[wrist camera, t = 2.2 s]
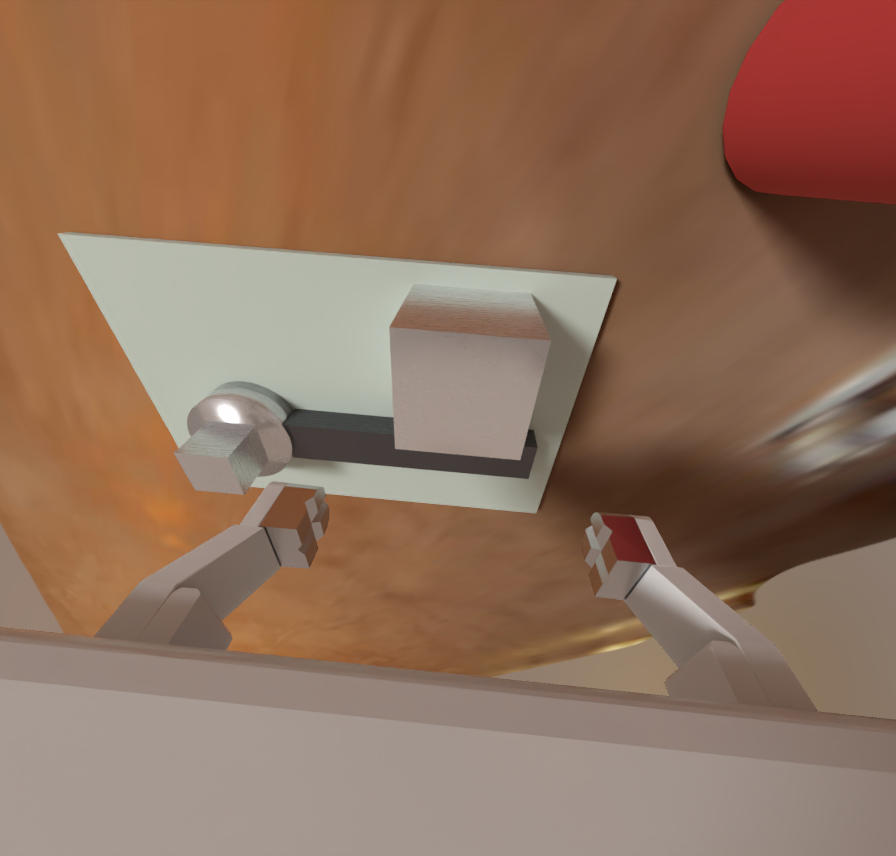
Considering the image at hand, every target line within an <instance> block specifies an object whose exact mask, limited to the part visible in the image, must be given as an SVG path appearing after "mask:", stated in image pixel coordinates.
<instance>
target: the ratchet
mask: <svg viewBox="0 0 896 856" xmlns="http://www.w3.org/2000/svg"><path fill="white" fill-rule="evenodd" d="M187 427H188V431H189V434H190V436H191V437H190V438H189V439H188V440H187V441H186V442H185V443H184V444H183V445H182V446H181V447H180V448H179V449H178V450H177V451H175V452H174V454H175V456H176V458H177V460H178V461H179V463H180V465H181V466H182V468H183V470H184V471H185V473H186V475H187V477H188V478H189V480H190V482H191V483H192V485H193V487H194V489H195V490H200V491H211V492H221V493H232V494H243V495H244V494H245V493H246V492H247V490H248V489H249V487H250V486H251V485H252V483H253V482H254V480H255V479H256V478H257V477H262V476H270V475H274V474H276V473H278V472H280V471H282V470H283V469H284V468H285V467H286V465H287V464H288V462H289V461H290V459H291V457H292V456H293V458H303V459H314V460H325V461H336V462H347V463H358V464H369V465H380V466H391V467H402V468H413V469H423V470H434V471H445V472H456V473H467V474H478V475H489V476H500V477H511V478H522V479H529V476H530V472H531V469H532V465H533V462H534V458H535V455H536V452H537V448H538V447H537V442H536V438H535V433H534V430H529V429H528V432H527V436H526V440H525V444H524V448H523V452H522V455H521V459H520V460H512V459H501V458H490V457H479V456H468V455H457V454H446V453H435V452H424V451H413V450H402V449H395V437H394V417H383V416H372V415H361V414H349V413H338V412H327V411H316V410H305V409H295V410H294V409H293V407H292V406H291V405H290V404H289V403H288V402H287V401H286V400H285V399H283V398H282V397H281V396H279V395H278V394H277V393H275V392H273V391H271V390H270V389H268V388H265V387H263V386H261V385H258V384H254V383H250V382H244V381H233V382H228V383H224V384H222V385H220V386H218V387H217V388H216V389H215V390H213V391H212V392H211V393H210V394H209V395H207V396H206V397H205V398H204V399H203V400H201V401H200V402H199V403H198V404H197V405H195V406H194V407H193V408H192V409H191V411H190V412H189V414H188V417H187Z"/></svg>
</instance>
